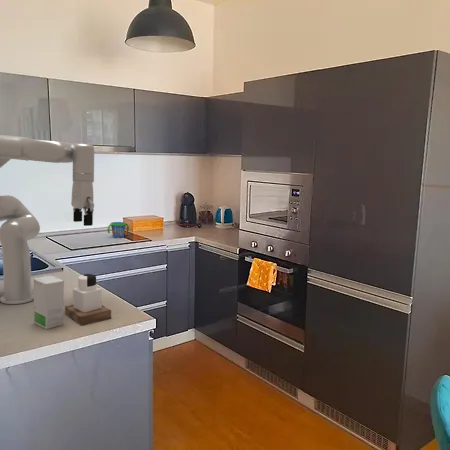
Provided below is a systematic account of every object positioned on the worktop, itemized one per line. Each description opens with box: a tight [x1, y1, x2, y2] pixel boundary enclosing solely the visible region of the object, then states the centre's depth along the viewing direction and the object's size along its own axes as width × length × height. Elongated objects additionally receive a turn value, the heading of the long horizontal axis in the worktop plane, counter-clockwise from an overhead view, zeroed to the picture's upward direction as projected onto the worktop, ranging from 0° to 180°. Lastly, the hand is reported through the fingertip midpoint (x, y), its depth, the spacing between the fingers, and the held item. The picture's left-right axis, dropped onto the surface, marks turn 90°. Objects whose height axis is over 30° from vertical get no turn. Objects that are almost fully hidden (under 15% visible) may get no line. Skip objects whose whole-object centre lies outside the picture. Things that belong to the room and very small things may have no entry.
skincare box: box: [33, 274, 65, 330], centre depth 143 cm, size 8×7×16 cm
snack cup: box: [107, 221, 130, 239], centre depth 300 cm, size 16×10×10 cm
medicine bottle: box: [72, 273, 103, 313], centre depth 151 cm, size 7×7×12 cm
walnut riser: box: [64, 304, 112, 326], centre depth 152 cm, size 13×11×3 cm
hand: (82, 223), depth 161 cm, fingers open, 9 cm apart
